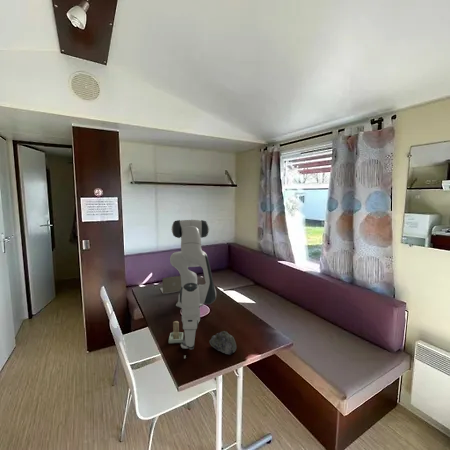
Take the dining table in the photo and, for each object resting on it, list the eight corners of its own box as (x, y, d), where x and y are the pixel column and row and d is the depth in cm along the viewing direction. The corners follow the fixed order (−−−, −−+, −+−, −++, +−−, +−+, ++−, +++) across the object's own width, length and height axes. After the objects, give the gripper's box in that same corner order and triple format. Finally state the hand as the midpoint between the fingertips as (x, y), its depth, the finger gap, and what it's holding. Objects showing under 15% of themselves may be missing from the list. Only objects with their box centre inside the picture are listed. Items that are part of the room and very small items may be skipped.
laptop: (180, 286, 220) (180, 271, 219) (185, 290, 209) (184, 275, 208) (159, 289, 213) (159, 273, 211) (162, 294, 201) (162, 278, 200)
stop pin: (173, 336, 139) (173, 321, 138) (179, 336, 140) (179, 321, 139) (173, 340, 136) (172, 324, 135) (178, 339, 137) (178, 323, 136)
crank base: (181, 342, 135) (181, 340, 135) (192, 342, 136) (192, 340, 135) (178, 358, 122) (178, 356, 122) (191, 358, 122) (190, 356, 122)
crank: (180, 342, 133) (180, 331, 132) (188, 339, 135) (188, 329, 135) (188, 352, 124) (188, 341, 124) (196, 350, 126) (196, 339, 126)
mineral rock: (208, 345, 133) (208, 326, 132) (226, 339, 138) (226, 322, 137) (219, 359, 122) (219, 339, 121) (238, 352, 127) (239, 333, 126)
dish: (170, 336, 141) (170, 332, 141) (183, 335, 142) (183, 332, 141) (168, 343, 134) (168, 339, 134) (182, 342, 135) (182, 339, 135)
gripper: (186, 308, 134) (186, 332, 136) (182, 328, 114) (182, 356, 116) (198, 307, 135) (198, 332, 136) (196, 327, 115) (196, 356, 116)
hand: (191, 343), depth 126 cm, fingers closed on crank, 2 cm apart
